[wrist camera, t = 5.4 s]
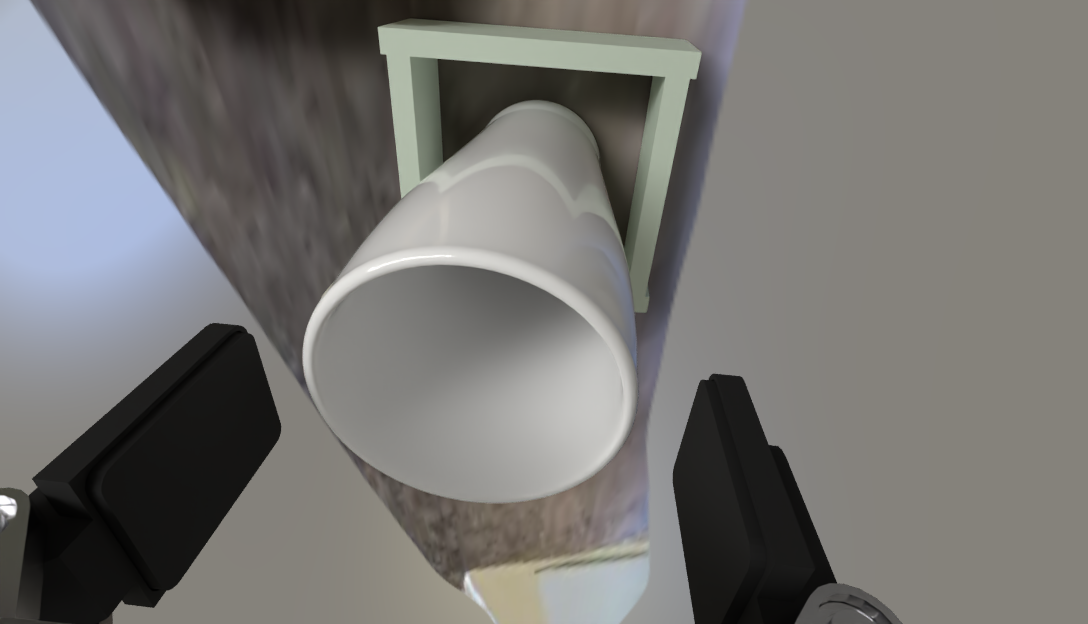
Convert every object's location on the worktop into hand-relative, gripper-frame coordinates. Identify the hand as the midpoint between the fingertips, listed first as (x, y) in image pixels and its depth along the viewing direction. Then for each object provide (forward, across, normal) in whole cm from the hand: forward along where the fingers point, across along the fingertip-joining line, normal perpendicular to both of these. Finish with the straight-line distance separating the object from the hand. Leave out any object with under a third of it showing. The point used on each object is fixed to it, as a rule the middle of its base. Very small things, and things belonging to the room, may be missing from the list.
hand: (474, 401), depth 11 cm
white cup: (+14, 0, -1) cm, 15 cm away
